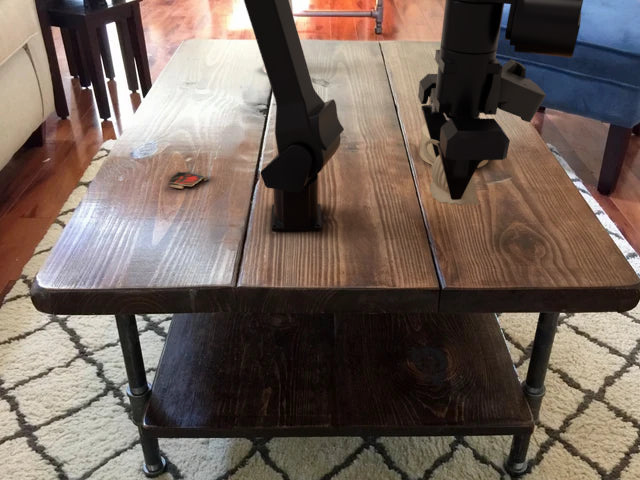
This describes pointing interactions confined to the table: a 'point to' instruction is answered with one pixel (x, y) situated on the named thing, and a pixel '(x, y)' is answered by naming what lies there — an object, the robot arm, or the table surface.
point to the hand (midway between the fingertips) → (449, 184)
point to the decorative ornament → (440, 184)
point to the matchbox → (185, 179)
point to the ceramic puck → (430, 149)
